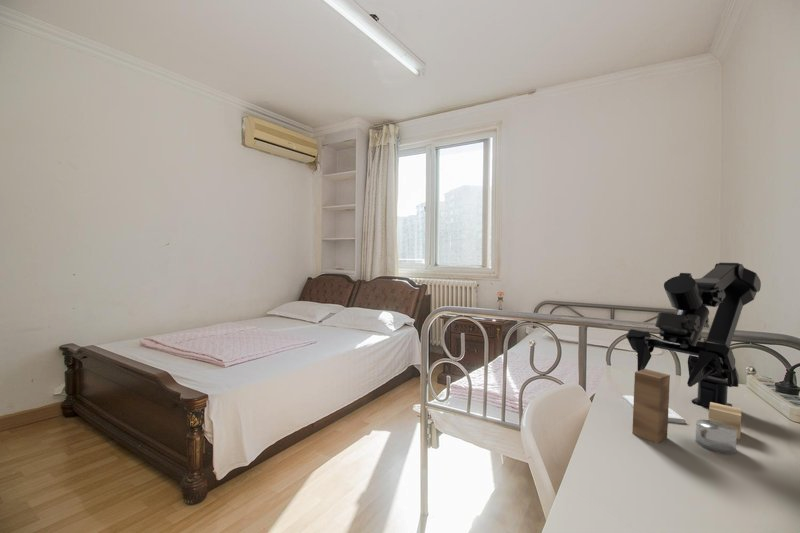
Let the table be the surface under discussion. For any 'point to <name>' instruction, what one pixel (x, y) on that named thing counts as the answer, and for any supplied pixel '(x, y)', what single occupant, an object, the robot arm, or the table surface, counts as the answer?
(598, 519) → the table surface
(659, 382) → the walnut block
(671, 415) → the external hard drive
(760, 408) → the table surface
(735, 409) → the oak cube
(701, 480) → the table surface
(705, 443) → the grey tin
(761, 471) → the table surface
